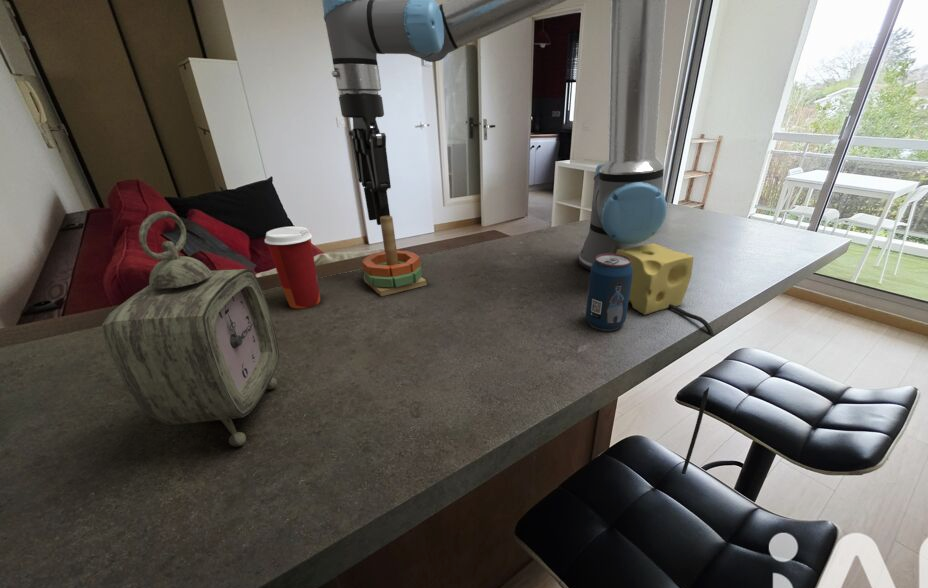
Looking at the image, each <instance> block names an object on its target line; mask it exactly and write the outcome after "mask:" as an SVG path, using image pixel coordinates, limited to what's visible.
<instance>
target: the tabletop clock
mask: <svg viewBox="0 0 928 588" xmlns="http://www.w3.org/2000/svg"><path fill="white" fill-rule="evenodd" d="M163 219H170V220H173V221H174V222H175V223H176V224H177V225H178V227H179V231H180V236H179V239H178V241H177V242H176V243H175V242H173V241H171V240H165V241H163V242H162V244H161V248H162V250H163V251H162V252H154V251H151V249H150V248H149V246H148V243H147V238H148V237H147V236H148V232H149V229H150V228H151V226H152V225H153V224H154V223H156V222H158V221H160V220H163ZM138 242H139V245H140V248H141V249H142V252H144V253H145V255H147V256H148V257H150V258H151V259H154V260H160V261H158V262H156V263H155V265H154V266H153V268H152V269H151V271H150V274H149V278H148V279H149V281H148V282H149V284H148V285H147V286H145V287H144V288H142V289H141V290H139V291H138V292H136V293H134V294H133V295H132V296H130V297H129V298H128V299H126V300H125V301H123V303H121V304H119V305H118V306H117V307H115V308H114V309H113V310H112V311H111V312H110V313H109V314H108V315H107V316H106V318H105V319H104V321H103V323H102V326H101V329H102V333H103V339H104V342H105V345H106V348H107V351H108V352H109V355H110V357H111V359H112V361H113V363H114V365H115V367H116V369H117V371H118V373H119V375H120V378H121V380H122V382H124V385H125V386H126V388H127V389H128V391H129V393H130V395H131V396H132V397H133V399H134V402H135V403H136V404H137V406H138V407H139V408H140V409H141V410H142V411H143V412H144V414H146V415H147V416H149V417H150V418H153V419H154V420H156V421H158V422H160V423H163V424H165V425H166V426H171V425H182V424H183V425H184V424H191V423H192V424H193V423H202V422H211V421H221V422H222V423H223V425H224V426H225V427H226V430H228V432H229V433H230V434H231V435H230V436H229V438H228V443H229V445H230V446H232V447H236V448H239V447H241V446H243V445H245V443H246V441H247V435H246V434H245V433H244V432H241V431H237V429H236V426H235V424H234V422H233V419H242V418H245V417H246V416H248V415H249V414H250V413H251V412H252V411H253V410H254V408H255V407H256V406H257V404H258V403H259V401H260V400H261V398H262V397H263V395H264V394H265V392H266V391H267V390H274V389H275V388H276V387H277V386H278V380H277V378H275V377H274V375H275V373H276V370H277V367H278V364H279V361H280V351H279V349H280V348H279V344H278V339H277V334H276V330H275V325H274V322H273V319H272V315H271V311H270V308H269V305H268V303H267V299H266V297H265V294H264V291H263V289H262V286H261V283H260V281H259V279H258V277H257V275H256V273H255V272H254V270H253V269H252V268H242V269H241V268H239V269H220V270H211V269H210V268H209V267H208V266H207V265H206V264H205V263H204V262H202V261H200V260H199V259H197V258H194V257H191V256H184V255H181V256H180V254H179V253H180V252H181V251H182V250H183V249H184V247H185V245H186V243H187V229H186V226H185V224H184V222H183V220H182V219H181V218H180V217H179V216H178V215H177V214H175V212H171V211H168V210H163V211H156V212H154V213H152V214H150V215H148V216H147V217H146V218H144V219H143V221H142V222H141V224H140V226H139V230H138Z"/></svg>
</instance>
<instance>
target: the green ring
mask: <svg viewBox="0 0 928 588" xmlns="http://www.w3.org/2000/svg"><path fill="white" fill-rule="evenodd" d="M405 262H407V261H398V264H401V263H405ZM377 265H387V264H386V262H382V263H378V264H377ZM363 276H365V280H366V281H367V282H369V283H370V284H371V285H374V286H378V287H393V286H395V287H399V286H403V285H407V284H411V283H414V282H416V281H417V280H418V279H419V278H420V277H422V276H423V268H422V265H420V266H419V267H418V268H417V269H416V270H415V271H414V272H411V273H408V274H404V275H399V276H394V277H392V276H390V277H382V276H371V275H369V274H368V273H367V272H366V271H365V270H363Z"/></svg>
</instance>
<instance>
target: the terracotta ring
mask: <svg viewBox="0 0 928 588" xmlns="http://www.w3.org/2000/svg"><path fill="white" fill-rule="evenodd" d="M397 257H398V261H407V262H405V263H401V264H396V265H391V266H389V265H377V264H378V263H382V262H386V257H385V250H383V251H380V252H374V253H371V254H369V255H368V256H366V257H364V258H363V259H362V260H361V266H362V269H363V271H364V270H365V271H366V272H367V273H368V274H369V275H371V276H382V277H390V276H392V277H394V276H399V275H404V274H408V273H411V272H414V271H415V270H416V269H417V268H418V267H419V266H421V260H420V259H421V258H420V256H419V255H418V254H416V253H415V252H413V251H410V250H397Z"/></svg>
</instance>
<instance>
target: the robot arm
mask: <svg viewBox="0 0 928 588" xmlns="http://www.w3.org/2000/svg"><path fill="white" fill-rule="evenodd" d="M567 1H568V0H446V1H444V2H442V3H441V4H438V2H437V1H436V0H321V2H322V9H323V20H324V23H325V28H326V32H327V38H328V42H329V48H330V53H331V58H332V65H333V70H332V71H331V75H332V77H333V78H335V83H336V86H337V90H338V91H339V92H341V94H339V96H338V101H339V106H340V111H341V112H340V113H341V116H342V117H343V118H345V119H346V118H348V119H351V118H352V129H349V130H348V135H349V139H350V142H351V146H352V152H353V157H354V164H355V169H356V174H357V180H358V183H360V184H361V186H362V187H363V193H364V198H365V205H366V210H367V215H368V216H367V217H368V220H369V221H376V225H377V226H381V222H380V217H382V216H391V211H390V205H389V198H388V190H389V189H391V188H392V186H391V177H390V170H389V161H388V153H387V135H386V133H385V132H381V131H380V128H379V126H378V122H377V118H382V117H384V116H385V110H384V103H383V97H382V96H381V94H379V92H380V91H381V90H382V86H381V85H382V84H381V78H380V69H379V65H378V60H377V55H389V54H390V55H393V54H394V55H409V56H411V57H412V56H413V57H416V58H418V59H421V60H423V61H425V62H428V63H434V62H440V61H442V60H444V59H445V58H446V57H447V56H448V54H449V53H452V52H455V51H456V50H458V49H460V48H462V47H464V46H466V45H469V44H471V43H474V42H475V41H478V40H481V39H483V38H485V37H487V36H489V35H492V34H494V33H496V32H498V31H501V30H503V29H506V28H507V27H510V26H512V25H514V24H517V23H520V22H522V21H523V20H526V19H529V18H531V17H533V16H535V15H538V14H540V13H542V12H544V11H546V10H549V9H550V8H553V7H556V6H558V5H560V4H563V3H565V2H567ZM609 1H610V8H609V11H610V12H609V60H608V61H609V63H608V67H609V69H608V73H609V74H608V120H607V121H608V122H607V123H608V125H607V127H608V128H607V159H606V161H605V163H599V164H598V165H596V167H595V172H594V175H593V181H594V182H593V183H594V184H593V191H592V192H593V194H592V200H591V201H592V203H591V212H590V221H589V222H590V223H589V231H588V234H587V236H586V239H585V241H584V243H583V245H582V248H581V250H580V252H579V255H578V257H579V258H578V264H579V265H580V267H582V268H584V269H585V270H588V271H590V270H591V266H592V264H593V263H594V261H595V258H596V256H598V255H600V254H607V253H610V254H616V252H617V250H618V249H625V248H632V247H637V246H641V245H643V244H642V243H643V242H645V241H648V240H649V239H651V238H652V237H654V236H655V234H657V233H658V232H659V231H660V230H661V228H662V227H663V225H664V223H665V221H666V219H667V213H668V206H667V200H666V197H665V194H664V193H663V189H664V188H663V185H664V173H665V171H664V170H665V165H664V164H663V163H662V161H661V160H659V158H658V157H657V148H658V147H657V146H658V135H659V133H658V132H659V119H660V103H661V91H662V90H661V88H662V87H661V86H662V75H663V74H662V73H663V59H664V44H665V29H666V18H667V17H666V16H667V3H668V2H667V1H668V0H609ZM668 309H671V310H674V311H675V312H677V313H679V314H681V315H682V316H684V317H687V318H690V319H693V320H696V321H697V322H699V323H701V324H702V326H704V327H705V329H706V330H707V332H708V335H709V336H710V337H715V333H714V331H713V328H712V327H711V325H710V323H709V322H708V321H707V320H706V319H705V318H703V317H701V316H699V315H696V314H693V313H690V312H688V311H686V310H684V309H682V308H680V307H678V306H674V305H672V304H670V305H669V308H668ZM709 389H710V386H708V387H707V388H706V390H704V391H703V393H702V398H701V403H700V406H699V411H698V415H697V419H696V422H695V427H694V430H693V434H692V437H691V439H690V440H691V441H690V444H689V447H688V450H687V453H686V457H685V460H684V463H683V466H682V470H681V473H682V474H685V475H686V473H687V470H688V467H689V464H690V460H691V457H692V455H693V451H694V448H695V445H696V441H697V438H698V434H699V431H700V428H701V425H702V420H703V416H704V413H705V409H706V405H707V400H708V395H709Z"/></svg>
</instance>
